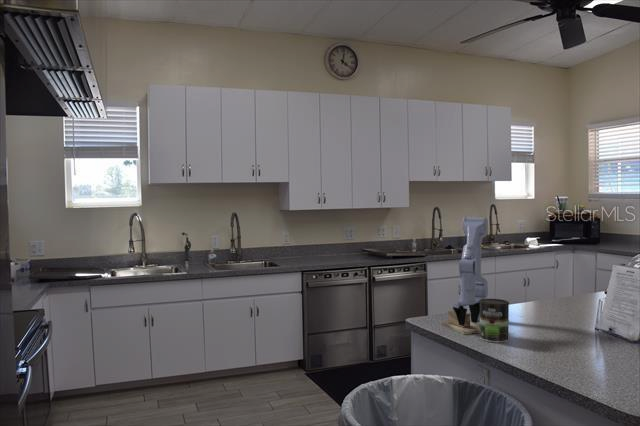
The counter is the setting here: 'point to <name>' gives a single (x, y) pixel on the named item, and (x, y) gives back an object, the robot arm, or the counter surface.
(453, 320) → the block
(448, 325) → the board
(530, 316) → the counter surface
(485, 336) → the coffee can
